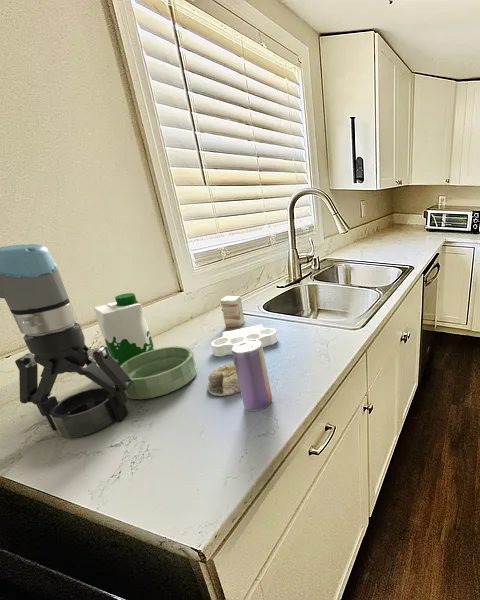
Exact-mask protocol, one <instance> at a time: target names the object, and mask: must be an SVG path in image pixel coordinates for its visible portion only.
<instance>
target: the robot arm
mask: <svg viewBox="0 0 480 600" xmlns="http://www.w3.org/2000/svg"><path fill="white" fill-rule="evenodd" d="M0 299H4V301H5V302H6V304H7V307H8V308H9V310H10V313H11V315H12V317H13V318H14V321H15V323H16V325H17V327H18V329H19V331H20V333H21V334H24V335H23V340H24V343H25V345H26V347H27V348H28V351H29V352H28V353H25V354H24V355H22V356H21V357H19V358H17V359H16V360H15V361H14V363H15V365H16V367H17V369H18V371H19V372H18V373H19V374H18V377H19V402H20V403H21V404H27V403H32V404H33V405H36V407H37V409H38V411H39V414H40V415H41V416H42V417H45V418H46V419H47V422H48V423H49V426H50V427H51V429H52V431H53V432H56V431H57V428H56V426H55V424H54V422H53V420H52V418H51V416H50V411H51V408H53V407H54V406H55V405H56V404H57V403H58V402H59V401H58V399H57V397H56V395H53V396H51V395H52V394H53V393H52V390H53V387H54V385H55V383H56V380H57V377H58V375H62V374H65V373H71V374H72V373H77V374H78V375H79V376H84V377H86V378H88V379H89V380H91V381H92V382H93V383H95V384H96V385H98V386H99V387H102V388H104V389H105V390H106V391H108V392H109V393H110V394H109V395H108V396H107V397H108V399H109V402H110V404H111V407H112V409H113V412H114V414H115V417H116V422H117V423H121V422H123V421H124V420H125V419H126V417H127V416H128V415H129V410H128V407H127V405H126V404H127V403H128V399H129V398H128V397H126V394H125V390H127V388H128V387H129V386H130V385H131V384H132V383H133V381H132V380H131V379H130V378H129V376H128V375H127V374H126V373H125V372H124V371H123V370H122V368H121V367H120V366H119V365H118V364H117V363H116V362H115V360H114V359H113V358H112V357H111V355H110V353H109V351H108V348H107V345H101V346H100V347H98V348H90V347H88V346H87V345H86V343H85V341H86V339H85V338H86V337H85V335H84V332H83V330H82V327H81V325H80V323H78V317H77V314H76V312H75V309H74V307H73V305H72V302H71V300H70V299H69V296H68V292H67V290H66V287H65V284H64V282H63V279H62V276H61V274H60V272H59V268H58V265H57V262H55V260H54V259H53V256H52V254H51V252H50V250H49V249H48V248H47V246H45V245H42V244H37V243H36V244H35V243H34V244H33V243H30V244H13V245H5V246H0ZM38 365H40V366H41V367H43V368H42V372H41V374H40V381H39V382H38V377H39V376H38V375H39V374H38V373H39V372H38V371H39V370H38V369H39V368H38V367H39V366H38ZM57 432H58V431H57Z"/></svg>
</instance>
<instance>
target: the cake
mask: <svg viewBox="0 0 480 600" xmlns="http://www.w3.org/2000/svg"><path fill="white" fill-rule="evenodd" d="M207 384H208V385H207V386H206V387H207V388H206V389H207V392H208V393H209V394H211V395H212V396H217V397H218V396H219V397H222V396H223V397H224V396H230V395H234V394H237V393H241V391H240V386H239V382H238V377H237V373H236V368H235V364H234V363H233V364H228V365H227V364H225V365H223V366H219V367H218V368H217V369H215V370H212V372H211V373H210V374H209V376H208V382H207Z"/></svg>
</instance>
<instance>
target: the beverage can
mask: <svg viewBox="0 0 480 600" xmlns="http://www.w3.org/2000/svg"><path fill="white" fill-rule="evenodd" d="M232 350H233V352H232V359H233V365H234V364H235V368H236V373H237V377H238V382H239V386H240V393H241V394H240V396H241V399H242V404H243V408H245V409H246V410H247V411H250V412H258V411H263V410H265V409H266V408H267V407H268V406H269V405H270V404H271V402H272V400H273V395H272V391H271V385H270V379H269V374H268V369H267V363H266V357H265V353H264V347H262V345H261V342H260V341H258V340H245V341H242V342H239V343H237V344H236V345H234V346H233V348H232Z"/></svg>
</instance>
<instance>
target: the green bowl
mask: <svg viewBox="0 0 480 600" xmlns="http://www.w3.org/2000/svg"><path fill="white" fill-rule="evenodd" d="M120 367H121V368H122V370H123V371H124V372H125V373H126V374H127V375H128V376H129V378H130V379H131V380H132V381H133V383H132V384H131V385H130V386H129V387H128V388H127V390H125V394H126V397H127V399H131V400H144V399H145V400H146V399H153V398H156V397H160V396H164V395H167V394H169V393H172V392H174V391H176V390H179V389H180V388H182V387H184V386H186V385H187V384H188V383H190V382H191V381H192V380H193V379H194V378H195V377H196V375H197V373H198V367H197V364H196V361H195V357H194V353H193V351H192V350H191V348H189V347H185V346H177V345H176V346H175V345H173V346H164V347H159V348H154V350H151V351H148V352H144V353H142V354H139V355H137V356H135V357H132V358H131V359H129V360H127V361H126V362H124V363H123V364H122V365H120Z"/></svg>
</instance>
